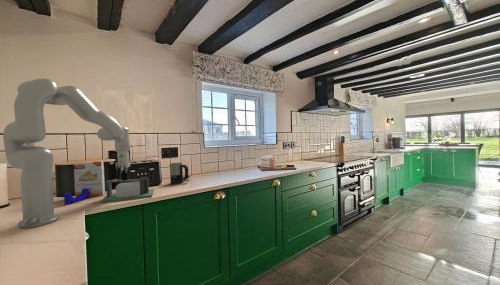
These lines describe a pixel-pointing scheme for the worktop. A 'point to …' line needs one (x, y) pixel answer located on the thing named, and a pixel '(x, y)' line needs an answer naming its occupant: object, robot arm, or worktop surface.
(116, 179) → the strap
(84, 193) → the cable clip
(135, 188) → the heatsink board
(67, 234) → the worktop surface
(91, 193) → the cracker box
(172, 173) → the milk frother
